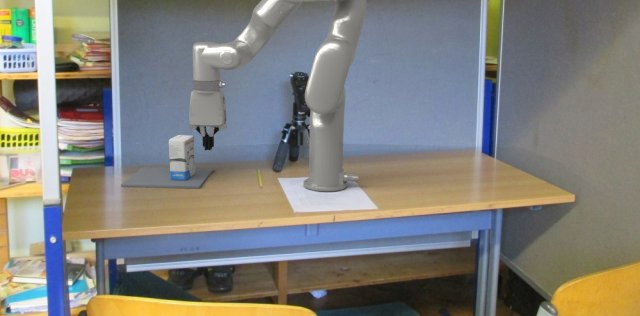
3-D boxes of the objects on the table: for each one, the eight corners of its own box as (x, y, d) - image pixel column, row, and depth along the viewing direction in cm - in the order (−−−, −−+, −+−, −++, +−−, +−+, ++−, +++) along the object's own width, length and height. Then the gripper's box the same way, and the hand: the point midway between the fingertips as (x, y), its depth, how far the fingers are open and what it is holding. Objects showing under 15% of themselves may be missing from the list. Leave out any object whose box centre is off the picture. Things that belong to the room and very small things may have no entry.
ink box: (185, 180, 187) (184, 140, 184) (169, 180, 188) (167, 140, 185) (195, 173, 195) (194, 134, 193) (179, 172, 196) (178, 134, 193)
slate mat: (213, 170, 201) (213, 168, 201) (199, 188, 182) (199, 186, 182) (142, 169, 202) (142, 167, 202) (121, 186, 182) (121, 184, 182)
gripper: (235, 85, 189) (236, 147, 193) (184, 84, 189) (185, 146, 193) (230, 88, 181) (231, 152, 186) (177, 87, 182) (179, 151, 186)
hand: (208, 149), depth 189 cm, fingers closed
